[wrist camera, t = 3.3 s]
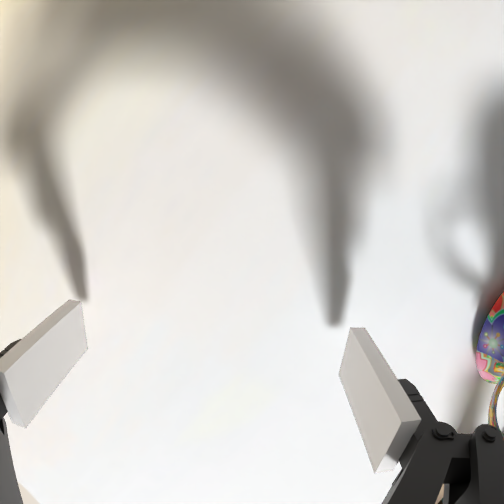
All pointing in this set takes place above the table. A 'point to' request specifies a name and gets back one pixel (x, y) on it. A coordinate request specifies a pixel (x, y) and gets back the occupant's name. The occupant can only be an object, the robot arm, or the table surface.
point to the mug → (492, 354)
